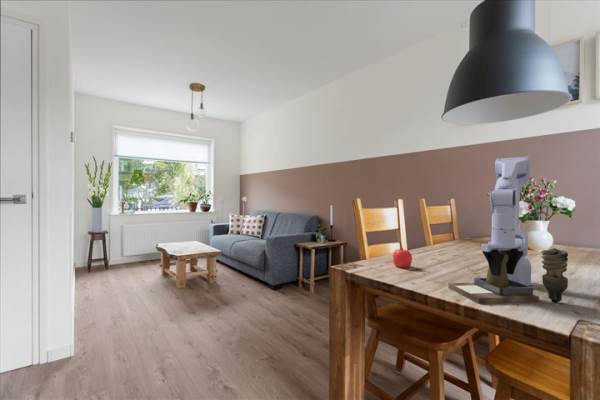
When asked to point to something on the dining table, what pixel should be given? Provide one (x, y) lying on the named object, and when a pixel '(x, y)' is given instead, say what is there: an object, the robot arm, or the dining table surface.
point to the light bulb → (555, 273)
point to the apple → (402, 258)
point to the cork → (503, 278)
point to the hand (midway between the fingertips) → (502, 274)
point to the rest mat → (474, 289)
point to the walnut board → (492, 296)
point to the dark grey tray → (513, 289)
